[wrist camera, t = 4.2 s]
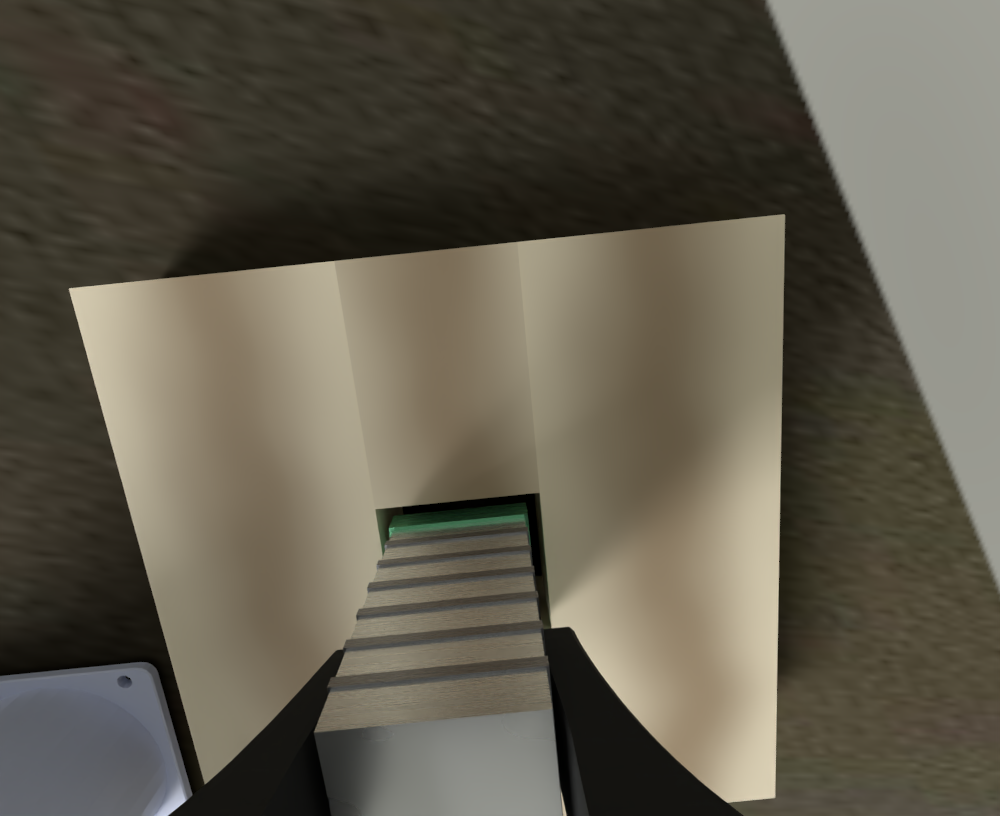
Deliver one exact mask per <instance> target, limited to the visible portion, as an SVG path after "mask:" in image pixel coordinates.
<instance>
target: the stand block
mask: <svg viewBox="0 0 1000 816" xmlns="http://www.w3.org/2000/svg"><path fill="white" fill-rule="evenodd" d="M784 248H785V214H782V215H772V216H763V217H753V218H743V219H734V220H724V221H715V222H705V223H695V224H686V225H676V226H666V227H657V228H647V229H638V230H628V231H618V232H609V233H599V234H589V235H580V236H570V237H561V238H551V239H541V240H532V241H522V242H512V243H503V244H493V245H484V246H474V247H464V248H455V249H445V250H435V251H426V252H416V253H407V254H397V255H387V256H378V257H368V258H358V259H349V260H339V261H330V262H320V263H310V264H301V265H291V266H281V267H272V268H262V269H253V270H243V271H233V272H224V273H214V274H204V275H195V276H185V277H176V278H166V279H156V280H147V281H137V282H127V283H118V284H108V285H99V286H89V287H79V288H70V289H69V291H70V295H71V298H72V302H73V306H74V309H75V313H76V316H77V320H78V324H79V327H80V331H81V335H82V338H83V342H84V346H85V349H86V353H87V357H88V360H89V364H90V368H91V371H92V375H93V378H94V382H95V386H96V389H97V393H98V397H99V400H100V404H101V408H102V411H103V415H104V419H105V422H106V426H107V429H108V433H109V437H110V440H111V444H112V448H113V451H114V455H115V459H116V462H117V466H118V470H119V473H120V477H121V481H122V484H123V488H124V491H125V495H126V499H127V502H128V506H129V510H130V513H131V517H132V521H133V524H134V528H135V532H136V535H137V539H138V543H139V546H140V550H141V553H142V557H143V561H144V564H145V568H146V572H147V575H148V579H149V583H150V586H151V590H152V594H153V597H154V601H155V605H156V608H157V612H158V615H159V619H160V623H161V626H162V630H163V634H164V637H165V641H166V645H167V648H168V652H169V656H170V659H171V663H172V667H173V670H174V674H175V677H176V681H177V685H178V688H179V692H180V696H181V699H182V703H183V707H184V710H185V714H186V718H187V721H188V725H189V728H190V732H191V736H192V739H193V743H194V747H195V750H196V754H197V758H198V761H199V765H200V769H201V772H202V776H203V780H204V783H205V784H206V783H207V782H209V781H210V780H211V779H212V778H213V777H214V776H215V775H216V774H217V773H219V772H220V771H221V770H222V769H223V768H224V767H225V766H226V765H227V764H228V763H229V762H231V761H232V760H233V759H234V758H235V757H236V756H237V755H238V754H239V753H240V752H241V751H242V750H243V749H244V748H245V747H246V746H247V745H248V744H249V743H250V742H251V741H252V740H253V739H254V738H255V737H256V736H257V735H258V734H259V733H260V732H261V731H262V730H263V729H264V728H265V727H266V726H267V725H268V724H269V723H270V722H271V721H272V720H273V719H274V718H275V717H276V716H277V715H278V713H279V712H280V711H281V710H282V709H283V708H284V707H285V706H286V705H287V704H288V703H289V702H290V700H291V699H292V698H293V697H294V696H295V695H296V694H297V693H298V692H299V691H300V690H301V689H302V687H303V686H304V685H305V684H306V683H307V682H308V681H309V680H310V679H311V677H312V676H313V675H314V674H315V673H316V672H317V671H318V670H319V668H320V667H321V666H322V665H323V664H324V663H325V662H326V661H327V660H328V659H329V657H330V656H331V655H332V654H333V653H334V652H335V651H336V650H341V649H343V647H344V644H345V642H346V640H348V639H351V636H352V634H353V631H354V629H355V626H356V624H357V618H356V614H357V612H358V609H360V608H363V606H364V603H365V601H366V598H367V596H368V591H367V587H368V585H369V582H373V580H374V578H375V575H376V573H377V567H376V565H377V562H378V560H382V557H383V555H384V552H385V547H384V545H385V542H386V541H389V539H390V534H389V526H390V523H391V521H392V519H393V516H396V515H403V509H402V507H403V506H413V505H423V504H433V503H443V502H453V501H463V500H472V499H482V498H492V497H502V496H512V495H522V494H532V493H534V496H535V507H536V518H537V529H538V539H539V550H540V561H541V572H542V576H535V580H536V591H538V597H539V607H540V617H541V620H542V622H543V629H550V628H560V627H570V628H571V629H572V630H574V632H575V634H576V636H577V638H578V639H579V641H580V643H581V645H582V646H583V648H584V650H585V651H586V653H587V654H588V656H589V657H590V659H591V660H592V662H593V663H594V665H595V666H596V668H597V669H598V671H599V672H600V673H601V675H602V676H603V678H604V679H605V680H606V681H607V683H608V684H609V685H610V687H611V688H612V689H613V690H614V692H615V693H616V694H617V696H618V697H619V698H620V699H621V701H622V702H623V703H624V704H625V705H626V707H627V708H628V709H629V710H630V711H631V712H632V714H633V715H634V716H635V717H636V718H637V719H638V720H639V722H640V723H641V724H642V725H643V726H644V727H645V728H646V729H647V730H648V731H649V733H650V734H651V735H652V736H653V737H654V738H655V739H656V740H657V741H658V742H659V743H660V744H661V745H662V746H663V747H664V748H665V749H666V750H667V751H668V752H669V753H670V754H671V755H672V756H673V757H674V758H675V759H676V760H677V761H678V762H680V763H681V764H682V765H683V766H684V767H685V768H686V769H687V770H688V771H690V772H691V773H692V774H693V775H694V776H695V777H696V778H697V779H698V780H700V781H701V782H702V783H703V784H704V785H705V786H707V787H708V788H709V789H711V790H712V791H713V792H714V793H716V794H717V795H718V796H719V797H721V798H722V799H723V800H724V801H726V802H738V801H748V800H758V799H768V798H775V770H776V712H777V654H778V596H779V538H780V480H781V422H782V364H783V306H784ZM561 799H562V810H563V816H567V815H566V810H565V806H564V801H563V797H562V792H561Z"/></svg>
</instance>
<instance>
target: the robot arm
mask: <svg viewBox="0 0 1000 816" xmlns="http://www.w3.org/2000/svg"><path fill="white" fill-rule="evenodd" d="M543 630H544V640H545V651H546V656H548V661H549V670H550V680H551V691H552V702H553V713H554V724H555V734H556V745H557V756H558V767H559V777H560V788H561V792H562V797H563V801H564V806H565V810H566V815H567V816H743V815H742V814H741V813H739V812H738V811H737V810H736V809H734V808H733V807H732V806H731V805H729V804H728V803H727V802H726V801H724V800H723V799H722V798H721V797H719V796H718V795H717V794H716V793H714V792H713V791H712V790H711V789H709V788H708V787H707V786H705V785H704V784H703V783H702V782H701V781H700V780H698V779H697V778H696V777H695V776H694V775H693V774H692V773H691V772H690V771H688V770H687V769H686V768H685V767H684V766H683V765H682V764H681V763H680V762H678V761H677V760H676V759H675V758H674V757H673V756H672V755H671V754H670V753H669V752H668V751H667V750H666V749H665V748H664V747H663V746H662V745H661V744H660V743H659V742H658V741H657V740H656V739H655V738H654V737H653V736H652V735H651V734H650V733H649V731H648V730H647V729H646V728H645V727H644V726H643V725H642V724H641V723H640V722H639V720H638V719H637V718H636V717H635V716H634V715H633V714H632V712H631V711H630V710H629V709H628V708H627V707H626V705H625V704H624V703H623V702H622V701H621V699H620V698H619V697H618V696H617V694H616V693H615V692H614V690H613V689H612V688H611V687H610V685H609V684H608V683H607V681H606V680H605V679H604V678H603V676H602V675H601V673H600V672H599V671H598V669H597V668H596V666H595V665H594V663H593V662H592V660H591V659H590V657H589V656H588V654H587V653H586V651H585V650H584V648H583V646H582V645H581V643H580V641H579V639H578V638H577V636H576V634H575V632H574V630H572V629H571V628H570V627H560V628H550V629H543ZM343 657H344V651H343V649H341V650H336V651H335V652H334V653H333V654H332V655H331V656H330V657H329V659H328V660H327V661H326V662H325V663H324V664H323V665H322V666H321V667H320V668H319V670H318V671H317V672H316V673H315V674H314V675H313V676H312V677H311V679H310V680H309V681H308V682H307V683H306V684H305V685H304V686H303V687H302V689H301V690H300V691H299V692H298V693H297V694H296V695H295V696H294V697H293V698H292V699H291V700H290V702H289V703H288V704H287V705H286V706H285V707H284V708H283V709H282V710H281V711H280V712H279V713H278V715H277V716H276V717H275V718H274V719H273V720H272V721H271V722H270V723H269V724H268V725H267V726H266V727H265V728H264V729H263V730H262V731H261V732H260V733H259V734H258V735H257V736H256V737H255V738H254V739H253V740H252V741H251V742H250V743H249V744H248V745H247V746H246V747H245V748H244V749H243V750H242V751H241V752H240V753H239V754H238V755H237V756H236V757H235V758H234V759H233V760H232V761H231V762H229V763H228V764H227V765H226V766H225V767H224V768H223V769H222V770H221V771H220V772H219V773H217V774H216V775H215V776H214V777H213V778H212V779H211V780H210V781H209V782H207V783H206V784H205V785H204V786H203V787H202V788H200V789H199V790H198V791H197V792H196V793H195V794H193V795H192V791H191V788H190V784H189V781H188V777H187V774H186V770H185V767H184V763H183V760H182V756H181V752H180V749H179V745H178V742H177V738H176V735H175V731H174V728H173V724H172V721H171V717H170V713H169V710H168V706H167V703H166V699H165V696H164V692H163V689H162V685H161V682H160V678H159V674H158V672H157V670H156V668H155V667H154V666H153V665H152V664H149V663H147V662H136V663H126V664H116V665H106V666H96V667H86V668H76V669H66V670H56V671H46V672H36V673H26V674H16V675H6V676H0V816H331V811H330V806H329V802H328V797H327V792H326V787H325V783H324V778H323V773H322V769H321V764H320V759H319V755H318V750H317V745H316V740H315V736H314V731H315V728H316V726H317V723H318V721H319V718H320V716H321V713H322V710H323V708H324V705H325V703H326V700H327V698H328V690H327V687H328V684H329V682H330V679H331V677H336V675H337V672H338V670H339V667H340V665H341V662H342V659H343ZM125 676H127V677H129V678H130V679H131V680H129V679H127V678H126V677H125Z"/></svg>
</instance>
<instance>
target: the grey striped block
mask: <svg viewBox="0 0 1000 816" xmlns="http://www.w3.org/2000/svg"><path fill="white" fill-rule="evenodd" d="M389 534H390V539H389V541H386V542H385V545H384V547H385V552H384V555H383V557H382V560H378V562H377V565H376V567H377V573H376V575H375V578H374V580H373V582H369V585H368V587H367V591H368V596H367V598H366V601H365V603H364V606H363V608H360V609H358V612H357V614H356V618H357V624H356V626H355V629H354V631H353V634H352V636H351V639H348V640H346V642H345V644H344V647H343V651H344V657H343V659H342V662H341V665H340V667H339V670H338V672H337V675H336V677H331V679H330V682H329V684H328V687H327V690H328V698H327V700H326V703H325V705H324V708H323V710H322V713H321V716H320V718H319V721H318V723H317V726H316V728H315V731H314V736H315V740H316V745H317V750H318V755H319V759H320V764H321V769H322V773H323V778H324V783H325V787H326V792H327V797H328V802H329V806H330V811H331V816H563V810H562V799H561V788H560V777H559V767H558V756H557V745H556V734H555V724H554V713H553V702H552V691H551V680H550V670H549V661H548V656H546V651H545V640H544V630H543V622H542V620H541V617H540V607H539V597H538V591H536V580H535V571H534V566H533V562H532V552H531V543H530V532H529V522H528V512H527V506H526V502H524V503H514V504H504V505H494V506H484V507H475V508H465V509H455V510H445V511H435V512H425V513H415V514H405V515H396V516H393V519H392V521H391V523H390V526H389Z"/></svg>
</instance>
